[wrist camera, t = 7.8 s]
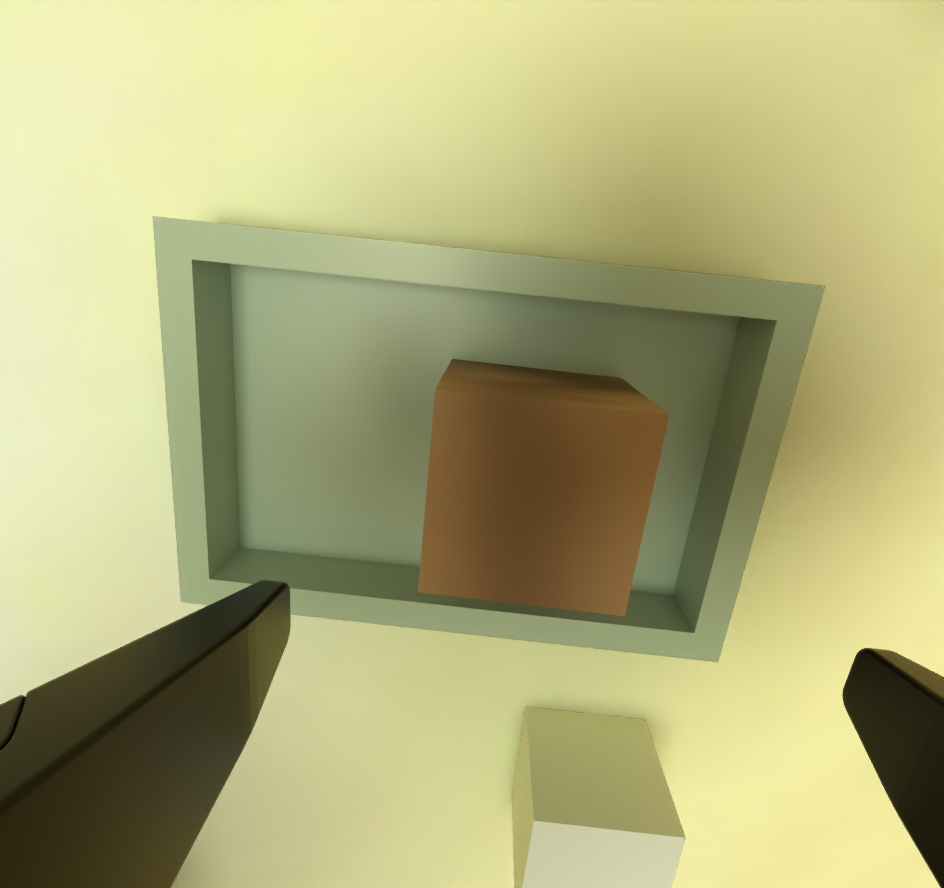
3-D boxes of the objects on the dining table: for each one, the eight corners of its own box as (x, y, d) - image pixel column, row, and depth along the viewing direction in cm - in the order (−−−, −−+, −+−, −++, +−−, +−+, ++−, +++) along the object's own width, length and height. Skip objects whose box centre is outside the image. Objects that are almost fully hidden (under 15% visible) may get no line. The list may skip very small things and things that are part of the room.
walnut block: (621, 377, 17) (669, 414, 12) (591, 531, 19) (624, 616, 14) (451, 358, 17) (435, 388, 12) (437, 513, 19) (418, 592, 14)
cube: (623, 807, 24) (655, 940, 19) (511, 794, 24) (515, 924, 19) (644, 718, 22) (685, 838, 17) (525, 704, 22) (533, 820, 17)
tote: (686, 608, 20) (717, 662, 18) (224, 557, 21) (181, 602, 18) (769, 285, 17) (825, 285, 14) (210, 227, 17) (152, 216, 14)
